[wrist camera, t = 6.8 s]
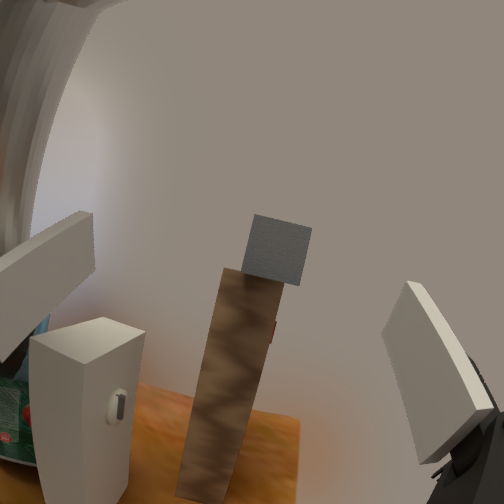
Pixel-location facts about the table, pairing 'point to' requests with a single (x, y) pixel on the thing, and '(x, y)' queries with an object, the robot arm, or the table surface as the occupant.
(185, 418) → the table surface
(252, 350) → the tall cabinet
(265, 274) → the grey square bar
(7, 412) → the canned tomato
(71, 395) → the cream rectangular box
